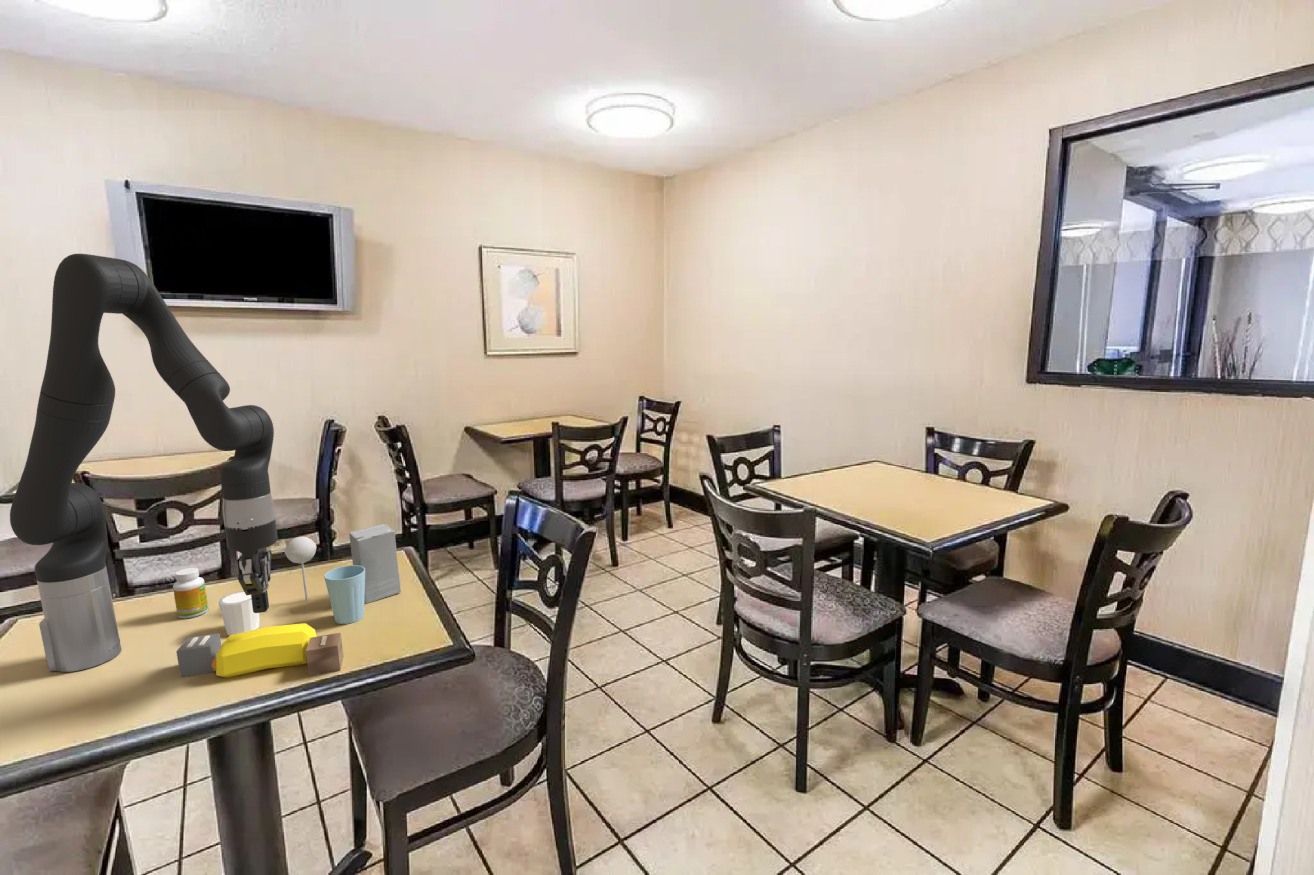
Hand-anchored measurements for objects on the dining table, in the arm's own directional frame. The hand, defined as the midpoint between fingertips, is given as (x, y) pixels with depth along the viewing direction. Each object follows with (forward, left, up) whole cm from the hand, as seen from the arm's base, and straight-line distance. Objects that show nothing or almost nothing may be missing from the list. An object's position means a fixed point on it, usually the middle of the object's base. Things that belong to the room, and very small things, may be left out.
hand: (261, 610), depth 110 cm
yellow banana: (0, 0, -11) cm, 11 cm away
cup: (+12, +14, -11) cm, 21 cm away
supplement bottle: (-20, +29, -11) cm, 37 cm away
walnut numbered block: (+10, -5, -11) cm, 15 cm away
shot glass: (-8, +17, -11) cm, 22 cm away
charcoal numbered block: (-11, +3, -11) cm, 16 cm away
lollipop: (+2, +27, -11) cm, 29 cm away
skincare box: (+17, +24, -11) cm, 31 cm away
